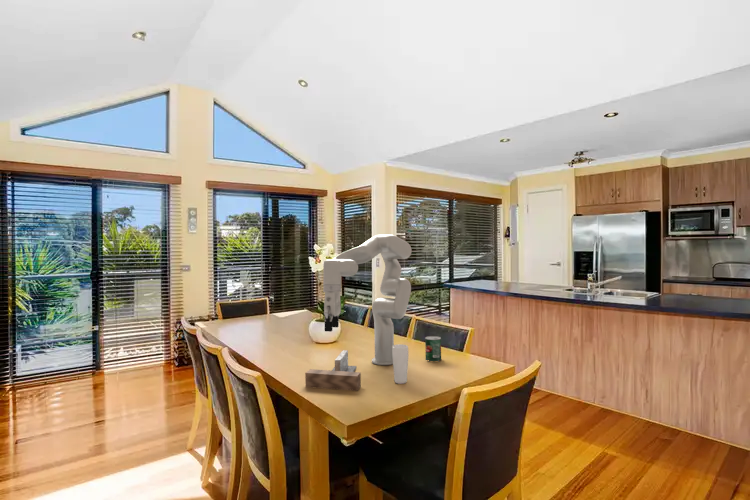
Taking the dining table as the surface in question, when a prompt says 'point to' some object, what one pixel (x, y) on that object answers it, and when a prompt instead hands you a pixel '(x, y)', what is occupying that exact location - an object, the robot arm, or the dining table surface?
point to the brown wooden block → (333, 379)
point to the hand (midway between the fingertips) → (331, 329)
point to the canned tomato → (433, 348)
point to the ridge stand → (343, 363)
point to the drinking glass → (400, 363)
